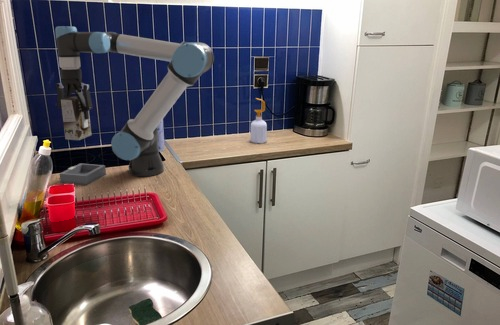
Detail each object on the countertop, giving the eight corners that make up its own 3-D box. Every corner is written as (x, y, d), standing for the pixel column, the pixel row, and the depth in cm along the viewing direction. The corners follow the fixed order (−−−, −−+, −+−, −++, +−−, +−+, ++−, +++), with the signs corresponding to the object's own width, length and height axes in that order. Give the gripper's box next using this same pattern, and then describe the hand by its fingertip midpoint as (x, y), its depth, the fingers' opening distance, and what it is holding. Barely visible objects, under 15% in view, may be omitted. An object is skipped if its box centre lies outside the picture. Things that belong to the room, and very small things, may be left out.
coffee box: (79, 140, 161) (74, 99, 156) (64, 139, 163) (59, 99, 158) (92, 135, 170) (88, 96, 165) (78, 134, 171) (73, 95, 166)
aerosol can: (147, 149, 215) (144, 111, 209) (161, 146, 219) (158, 110, 213) (153, 152, 209) (150, 114, 203) (167, 150, 213) (165, 112, 207)
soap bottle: (248, 140, 235) (248, 97, 227) (263, 139, 238) (264, 96, 230) (253, 144, 227) (253, 99, 219) (268, 142, 229) (269, 99, 222)
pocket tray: (106, 174, 177) (105, 164, 176) (87, 185, 164) (85, 175, 162) (81, 172, 179) (80, 162, 178) (60, 182, 166) (59, 172, 165)
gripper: (98, 68, 159) (104, 126, 166) (54, 66, 163) (62, 123, 170) (87, 69, 152) (94, 130, 159) (41, 68, 156) (50, 127, 163)
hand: (77, 126), depth 165 cm, fingers closed on coffee box, 6 cm apart
